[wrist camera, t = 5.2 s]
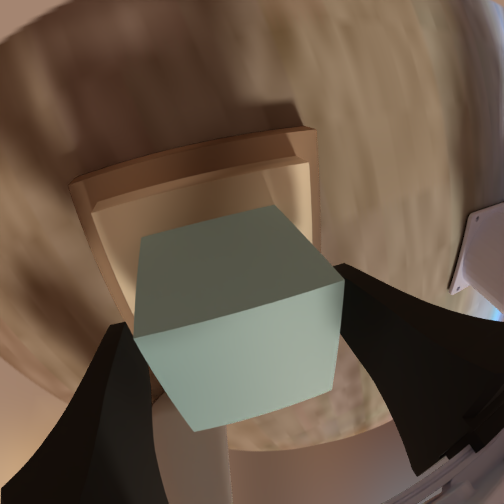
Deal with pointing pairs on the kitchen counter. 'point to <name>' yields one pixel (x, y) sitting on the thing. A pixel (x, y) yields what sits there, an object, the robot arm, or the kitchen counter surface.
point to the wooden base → (194, 196)
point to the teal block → (237, 316)
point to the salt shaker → (190, 458)
